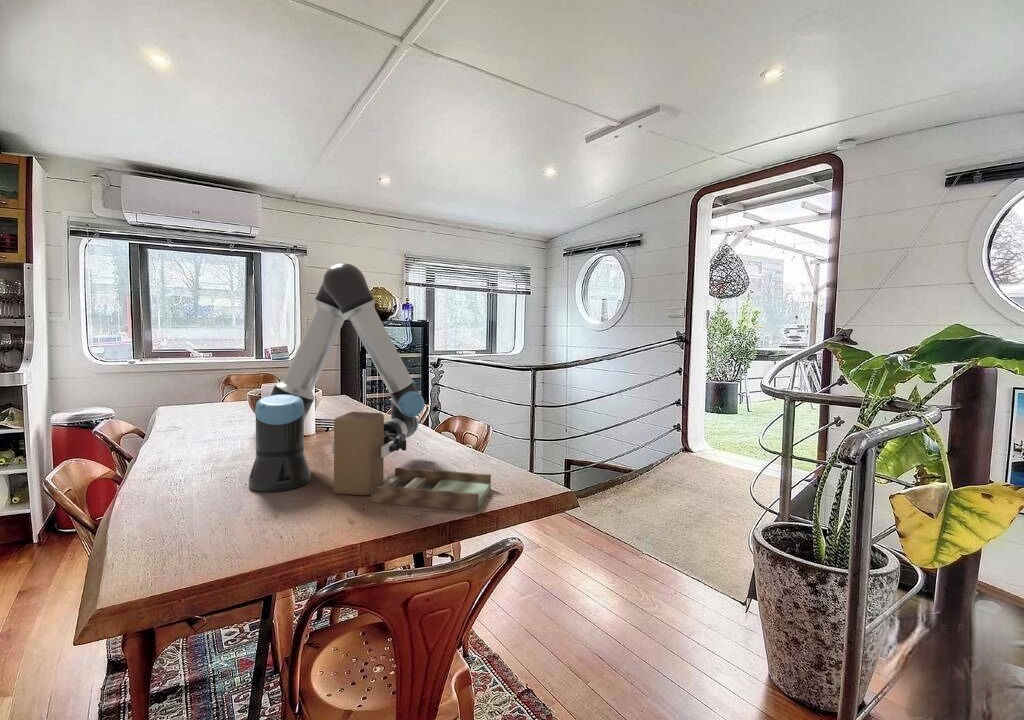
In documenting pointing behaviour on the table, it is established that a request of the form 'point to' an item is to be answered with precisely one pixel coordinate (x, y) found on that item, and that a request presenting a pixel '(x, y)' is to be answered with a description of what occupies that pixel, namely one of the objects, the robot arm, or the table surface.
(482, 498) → the box
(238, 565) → the table surface
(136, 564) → the table surface
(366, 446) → the block
